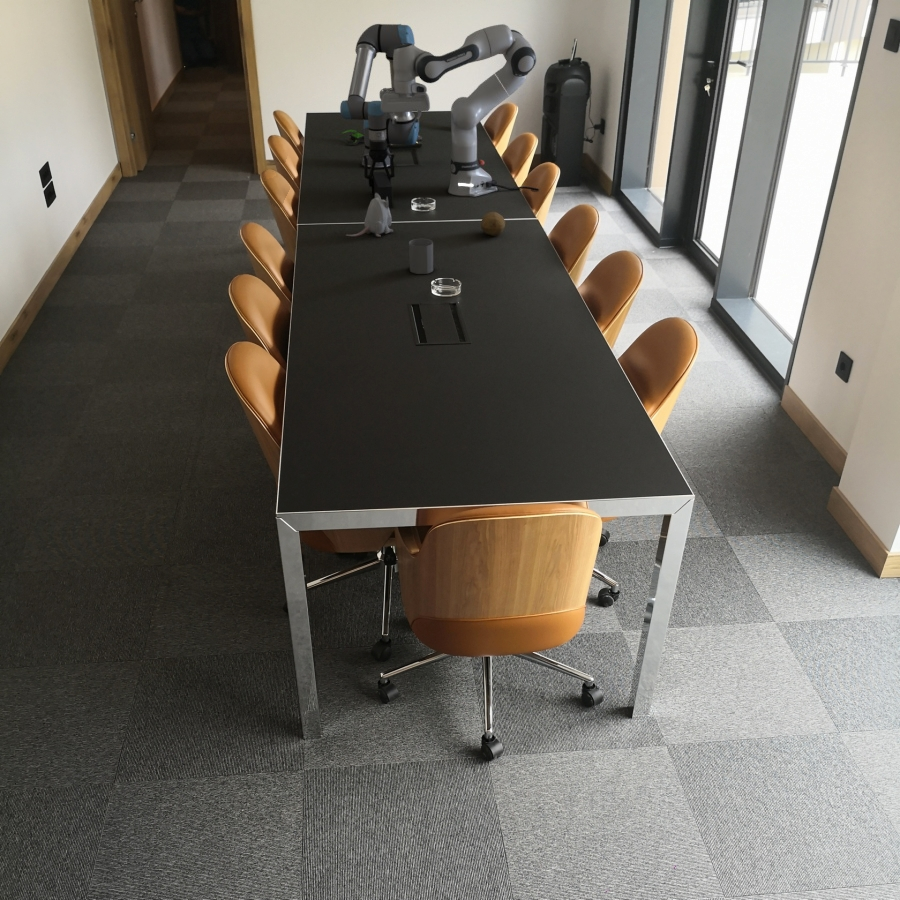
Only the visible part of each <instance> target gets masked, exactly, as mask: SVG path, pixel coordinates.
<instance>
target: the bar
mask: <svg viewBox="0 0 900 900" xmlns="http://www.w3.org/2000/svg"><path fill="white" fill-rule="evenodd" d="M372 178H373V181H374V195H373V196H374V197H375V193H377V194H378V195H379V196H380V198H381V200H385V201H386V198H387V197H388V204H389V209H393V208H394V207H393V205H394V204H393V186H392V183H391V184H390V182H389V179H388V177H387V174H386V171H374V172H373V176H372Z"/></svg>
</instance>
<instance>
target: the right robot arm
mask: <svg viewBox="0 0 900 900" xmlns="http://www.w3.org/2000/svg"><path fill="white" fill-rule="evenodd" d="M532 47H533V46H531V44H530V42H529V41H528V40H527V39H526V38H525V37H524V36H523V35H522V33H521V32H519V31H518V30H515V29H511V28H510V27H509V26H508V25H507V24H504V23H503V24H494V25H490V26H486V27H483V28H480V29H478V30H476V31H474V32H472V33H470V34H469V35H467V36H466V38H465V40H464V42H463V44H462V46H460V47H459V48H457V49H454V50H452V51H450V52H447V53H445V54H442V55H435V54H433V53H431V52H430V51H427V50H423V49H421V48H419V47H418V46H415V44H414V45H413V44H412V43H404V44H400V45H398V46H396V48H395V49H394V55H393V69H394V88H391V87H383V88H382V89H380V91H379V99H380V101H381V111H382V112H383V113H389V114H390V118H392V123H393V124H396V118H393V116H392V115H393V112H413V113H414V112H415V113H417V115H416V117H415V123H419V124H420V118H421V116H422V112H429V111H430V109H431V103H430V102H431V101H430V96H429V94H428V93H427V92H428V89H427V86H426V85H425V84H426V83H427V84H434V83H436V82H438V81H439V80H440V79H441V78H442V77H443V76H444V75H445V74H447V73H449V72H451V71H454V70H457V69H458V68H461V67H463V66H466V65H468V64H471V63H472V64H473V63H475V62H480V61H484V60H487V59H490V58H493V57H495V56H497V55H502V56H503V58H504V59H505V61H506V62H505V63H504V65H503V66H502V68H500V69H499V70H497V71H495V72H494V73H493V74H492V75H491V76H489V77H488V78H486V79H485V80H484V81H482V82H481V83H480V84H479V85H478V86H477V87H476V88H475V89H474V90H473V92H472V93H471V94H469V95H468V96H459V97H457V98H456V99H455V100H454V101H453V102H452V104H451V107H450V121H451V122H450V125H451V126H450V127H451V128H450V129H451V130H450V131H451V158H450V179H449V180H450V181H449V186H448V189H447V192H448V193H449V194H451V195H454V196H459V197H460V196H461V197H471V198H474V197H475V198H476V197H478V196H482V195H486V194H490V193H495V192H497V191H498V188H502V189H504V190H508V191H509V190H510V191H516V190H517V191H518V190H522V189H523V190H524V189H525V190H532V191H535V192H536V191H537V192H540V189H539V188H537V187H532V186H524V185H523V186H517V187H508V186H505V185H502V184H498V181H497V180H495V179H493V178H492V176H491V175H490V174H489V173H488V172H487V171H486V170H484V169H483V168H482V167H481V166H484V165H485V160H483V159H478V137H477V136H478V135H477V133H478V132H477V125H478V124H479V123H481V121H483V120H484V118H485V117H487V116H488V115H489V113H491V111H493V110H494V109H495V108H496V107H498V106H499V104H501V103H502V102H504V101H505V100H506V99H507V98H509V97H510V96H511V95H513V94H514V93H515V92H516V91H517V90H519V89H520V87H521V86H522V85H523V84H524V83H525V82H526V80H527V76H528V75H529V74H530V72H531V71H533V69H534V68H535V66H536V64H537V55H536V53H535V51H534V49H533V48H532ZM417 77H419V79H420V80H421V81H422V82H423V83H420V82H416V78H417ZM424 83H425V84H424Z"/></svg>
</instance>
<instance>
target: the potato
mask: <svg viewBox="0 0 900 900" xmlns="http://www.w3.org/2000/svg"><path fill="white" fill-rule="evenodd" d="M505 226H506V220H505V218H504V217H503V215H501V214H500V213H498V212H496V211H490V212H487V213H485V214H484V215H483V217H482V218H481V222H480V229H481V231H482V232H483V233H485V234H486V235H489V236H491V237H493V236H498V235H499V234H502V233H503V232H504V229H505Z"/></svg>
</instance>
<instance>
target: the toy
mask: <svg viewBox="0 0 900 900" xmlns="http://www.w3.org/2000/svg"><path fill="white" fill-rule="evenodd" d="M392 218H393V217H392V214H391V211H390V208H389V204H388V197H387V198H386V201H385V200H381V198H380V196H379V195H378V194H377V193H375V196H374V198H372V199H371V200H370V202H369V205H368V207H367V211H366V215H365V217H364V223H363V225H364V229H362V230H361V231H359V232H358V233H354V234H346V236H348V237H359V236H362V235H363V234H365V233H366V234H371V233H372V234H374V235H375V237H378V238H382V236H381V235H382V234H383V233H384V234H385V235H387V234H389V233H394V230H393V228H390V227H391V226H392V220H393V219H392Z"/></svg>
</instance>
